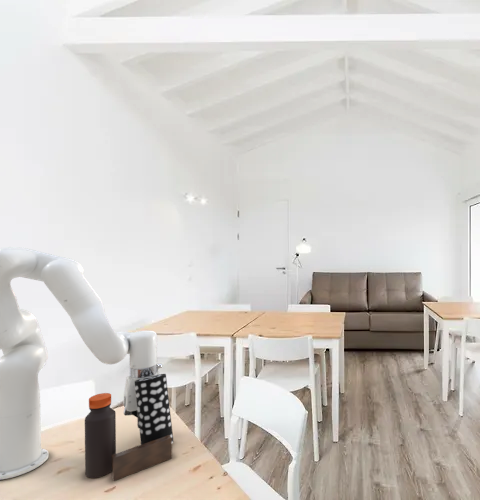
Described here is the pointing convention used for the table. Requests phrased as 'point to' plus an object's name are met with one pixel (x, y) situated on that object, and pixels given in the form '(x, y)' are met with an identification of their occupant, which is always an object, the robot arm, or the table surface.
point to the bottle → (99, 436)
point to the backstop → (141, 457)
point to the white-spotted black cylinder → (153, 408)
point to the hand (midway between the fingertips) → (143, 428)
